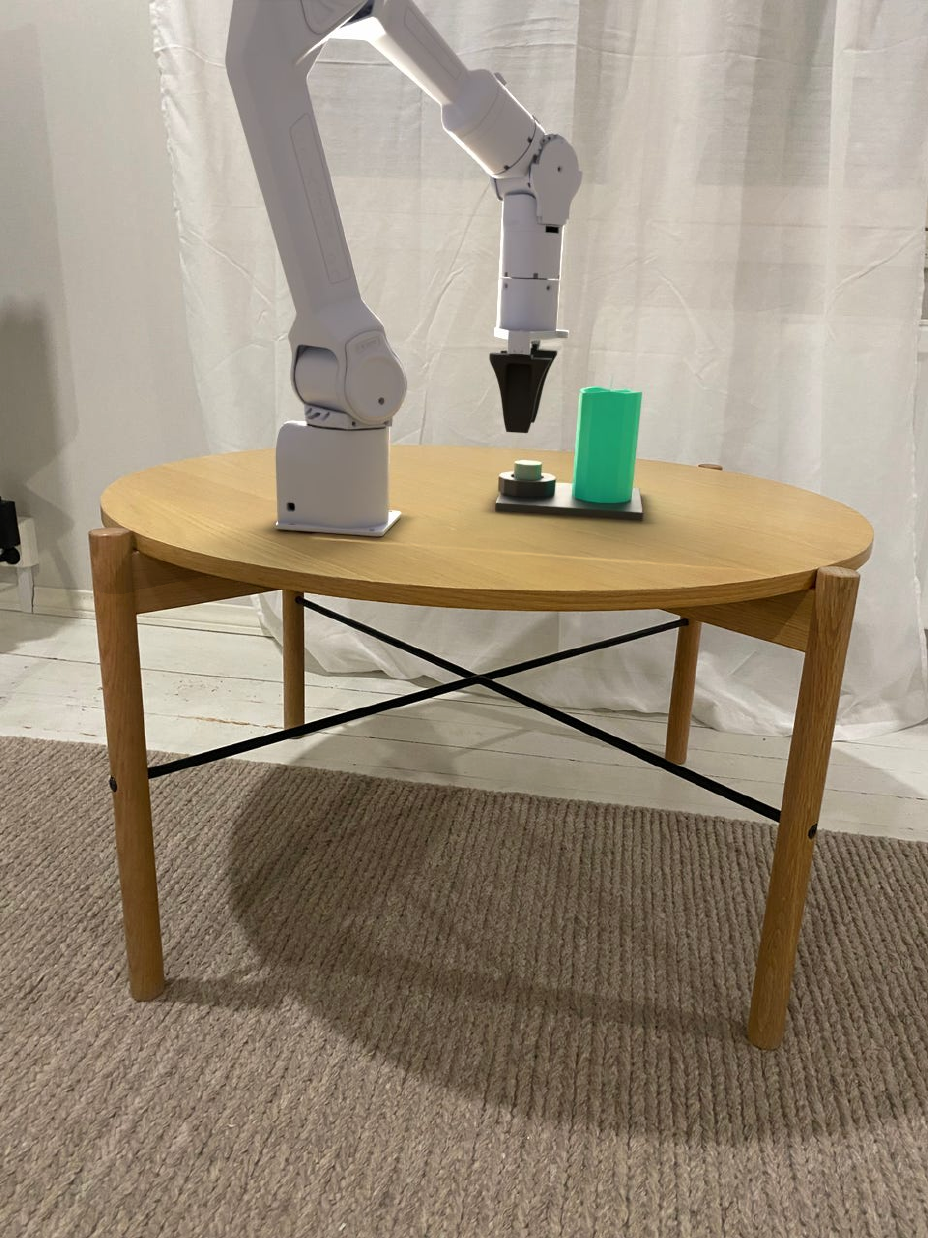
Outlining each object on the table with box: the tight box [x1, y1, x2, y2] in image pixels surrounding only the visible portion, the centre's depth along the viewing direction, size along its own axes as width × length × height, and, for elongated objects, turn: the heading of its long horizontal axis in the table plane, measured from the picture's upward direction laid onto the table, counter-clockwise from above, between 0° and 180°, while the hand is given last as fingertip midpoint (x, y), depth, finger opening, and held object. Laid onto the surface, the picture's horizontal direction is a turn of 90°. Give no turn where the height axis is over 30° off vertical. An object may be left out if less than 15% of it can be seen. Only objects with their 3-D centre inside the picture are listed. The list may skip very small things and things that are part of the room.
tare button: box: [513, 459, 543, 480], centre depth 93 cm, size 3×3×2 cm
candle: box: [572, 373, 643, 503], centre depth 90 cm, size 6×6×12 cm
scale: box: [494, 470, 644, 522], centre depth 93 cm, size 14×12×2 cm
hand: (520, 426), depth 90 cm, fingers open, 7 cm apart
